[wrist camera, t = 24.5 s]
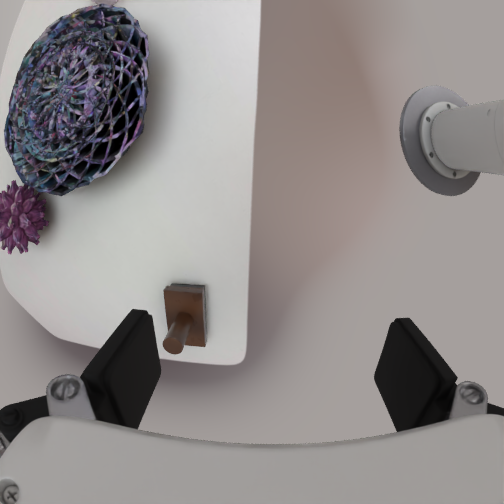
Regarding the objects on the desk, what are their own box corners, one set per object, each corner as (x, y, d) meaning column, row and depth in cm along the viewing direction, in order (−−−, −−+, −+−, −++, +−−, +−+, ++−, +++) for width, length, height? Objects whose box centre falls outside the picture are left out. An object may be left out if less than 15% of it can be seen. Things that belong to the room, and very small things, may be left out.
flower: (62, 242, 41) (14, 241, 38) (59, 173, 37) (9, 178, 34) (31, 269, 30) (-19, 265, 28) (22, 183, 26) (-30, 189, 24)
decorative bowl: (44, 193, 38) (6, 207, 29) (42, 50, 28) (7, 41, 19) (175, 173, 37) (149, 184, 28) (172, 3, 27) (151, -27, 18)
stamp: (169, 281, 40) (146, 312, 31) (206, 283, 40) (191, 317, 31) (174, 332, 43) (157, 370, 34) (208, 335, 43) (197, 375, 34)
